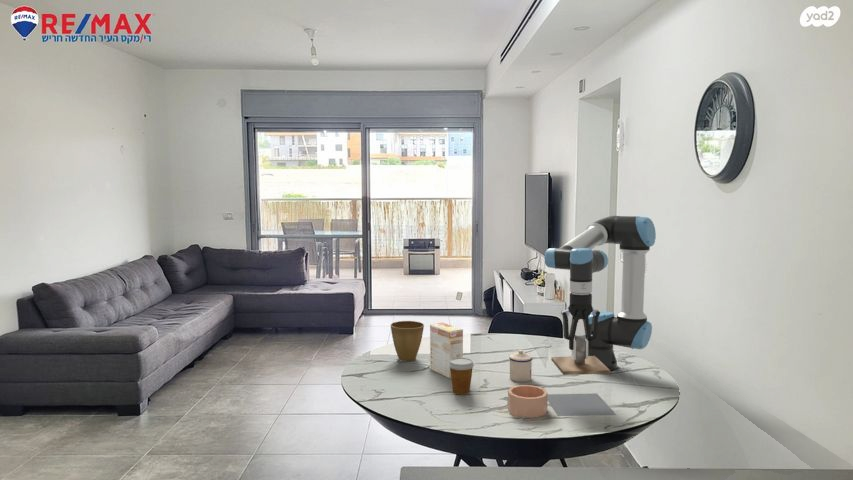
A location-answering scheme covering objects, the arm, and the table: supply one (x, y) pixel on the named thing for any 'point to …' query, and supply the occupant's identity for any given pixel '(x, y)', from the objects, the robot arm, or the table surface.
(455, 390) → the disposable coffee cup
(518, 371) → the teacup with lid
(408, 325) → the plant pot
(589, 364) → the lid board
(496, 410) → the table surface
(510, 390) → the bowl
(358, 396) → the table surface
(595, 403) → the rubber mat
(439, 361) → the coffeecake box
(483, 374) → the table surface
